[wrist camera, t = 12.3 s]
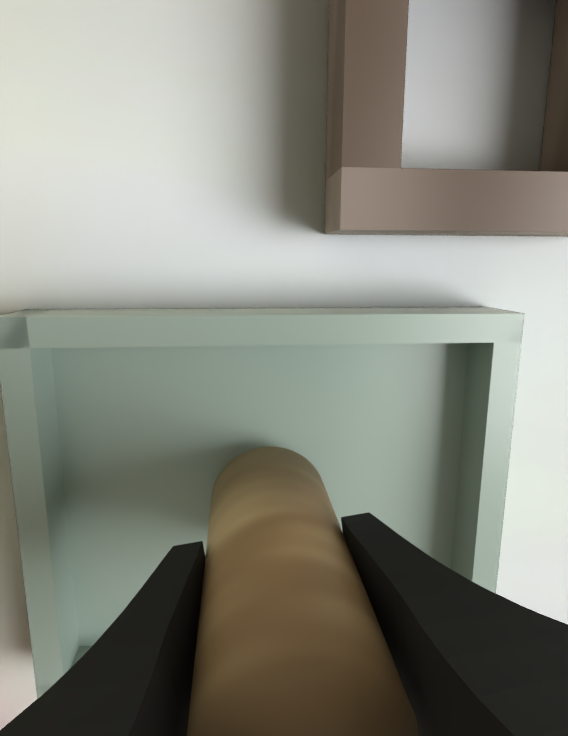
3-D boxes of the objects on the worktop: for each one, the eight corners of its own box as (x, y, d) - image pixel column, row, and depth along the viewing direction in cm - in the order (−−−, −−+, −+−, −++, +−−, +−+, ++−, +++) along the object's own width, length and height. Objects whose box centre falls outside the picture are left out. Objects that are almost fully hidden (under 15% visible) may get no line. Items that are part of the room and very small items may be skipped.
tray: (487, 306, 14) (524, 313, 12) (459, 628, 16) (487, 673, 14) (25, 309, 13) (-7, 317, 11) (61, 655, 15) (38, 708, 13)
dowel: (323, 442, 13) (420, 640, 6) (327, 546, 14) (418, 831, 7) (206, 451, 13) (173, 668, 6) (215, 557, 13) (194, 863, 7)
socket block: (613, -61, 12) (686, -122, 10) (577, 236, 14) (635, 232, 12) (330, -80, 12) (349, -149, 10) (324, 234, 13) (340, 229, 11)
